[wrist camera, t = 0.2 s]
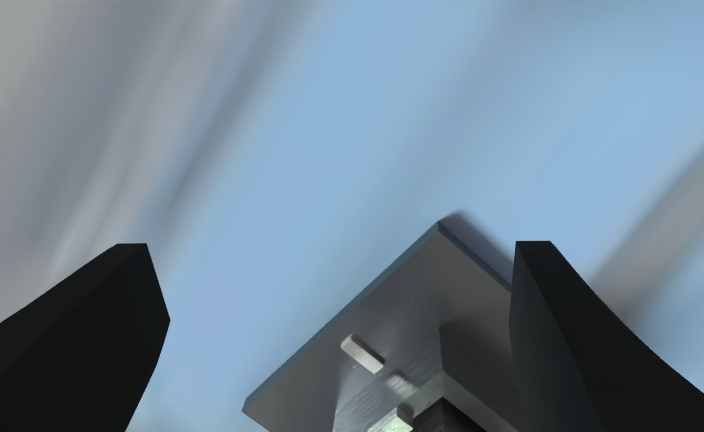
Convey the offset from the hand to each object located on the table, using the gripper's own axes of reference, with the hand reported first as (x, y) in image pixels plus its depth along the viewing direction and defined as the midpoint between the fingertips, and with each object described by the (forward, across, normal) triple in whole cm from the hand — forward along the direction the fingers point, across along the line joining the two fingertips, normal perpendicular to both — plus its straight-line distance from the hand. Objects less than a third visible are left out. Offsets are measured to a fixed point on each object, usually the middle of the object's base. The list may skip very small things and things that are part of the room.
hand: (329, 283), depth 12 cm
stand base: (+9, -2, +14) cm, 16 cm away
